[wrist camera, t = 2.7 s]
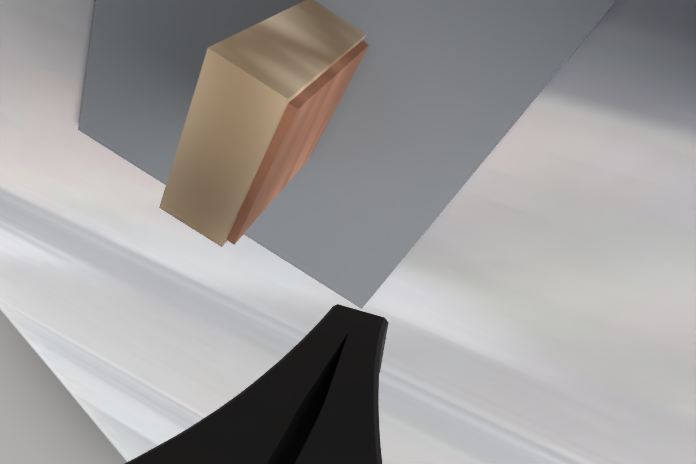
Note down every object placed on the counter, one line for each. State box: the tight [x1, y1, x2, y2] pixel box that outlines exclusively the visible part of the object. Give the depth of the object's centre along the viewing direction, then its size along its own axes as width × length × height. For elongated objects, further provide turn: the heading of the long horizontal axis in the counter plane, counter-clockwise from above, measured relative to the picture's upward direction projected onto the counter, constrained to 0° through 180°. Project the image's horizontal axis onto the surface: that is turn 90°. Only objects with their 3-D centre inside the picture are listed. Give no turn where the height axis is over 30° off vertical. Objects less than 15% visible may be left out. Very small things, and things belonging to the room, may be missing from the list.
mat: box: [78, 0, 616, 309], centre depth 20 cm, size 17×18×1 cm
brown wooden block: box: [159, 0, 369, 247], centre depth 17 cm, size 3×6×7 cm, turn 153°
